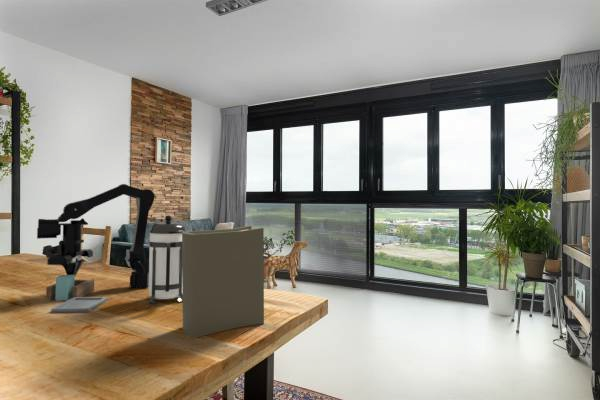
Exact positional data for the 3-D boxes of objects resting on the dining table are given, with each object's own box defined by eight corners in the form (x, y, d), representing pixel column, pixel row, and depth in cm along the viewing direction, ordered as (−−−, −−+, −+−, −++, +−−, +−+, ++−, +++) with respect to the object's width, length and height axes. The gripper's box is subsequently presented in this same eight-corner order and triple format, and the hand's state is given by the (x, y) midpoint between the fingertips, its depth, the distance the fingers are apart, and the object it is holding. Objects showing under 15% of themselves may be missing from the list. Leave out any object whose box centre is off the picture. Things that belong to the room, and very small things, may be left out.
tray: (107, 300, 120) (107, 296, 120) (88, 312, 107) (88, 308, 107) (74, 300, 119) (74, 297, 119) (51, 312, 106) (51, 308, 106)
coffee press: (131, 302, 119) (133, 215, 119) (168, 291, 133) (170, 214, 133) (166, 310, 111) (168, 217, 111) (202, 298, 125) (204, 215, 125)
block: (74, 297, 123) (74, 274, 123) (67, 300, 119) (68, 277, 119) (62, 297, 123) (62, 274, 123) (55, 300, 119) (55, 277, 119)
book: (189, 341, 88) (188, 232, 88) (179, 329, 96) (179, 229, 96) (263, 323, 100) (263, 228, 100) (249, 314, 108) (249, 225, 108)
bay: (94, 291, 132) (94, 279, 132) (76, 300, 120) (77, 287, 120) (66, 291, 131) (66, 279, 131) (46, 300, 119) (46, 287, 119)
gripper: (63, 234, 134) (62, 274, 134) (30, 240, 115) (29, 286, 115) (94, 235, 135) (93, 274, 135) (66, 240, 116) (64, 286, 116)
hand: (71, 280), depth 125 cm, fingers closed
